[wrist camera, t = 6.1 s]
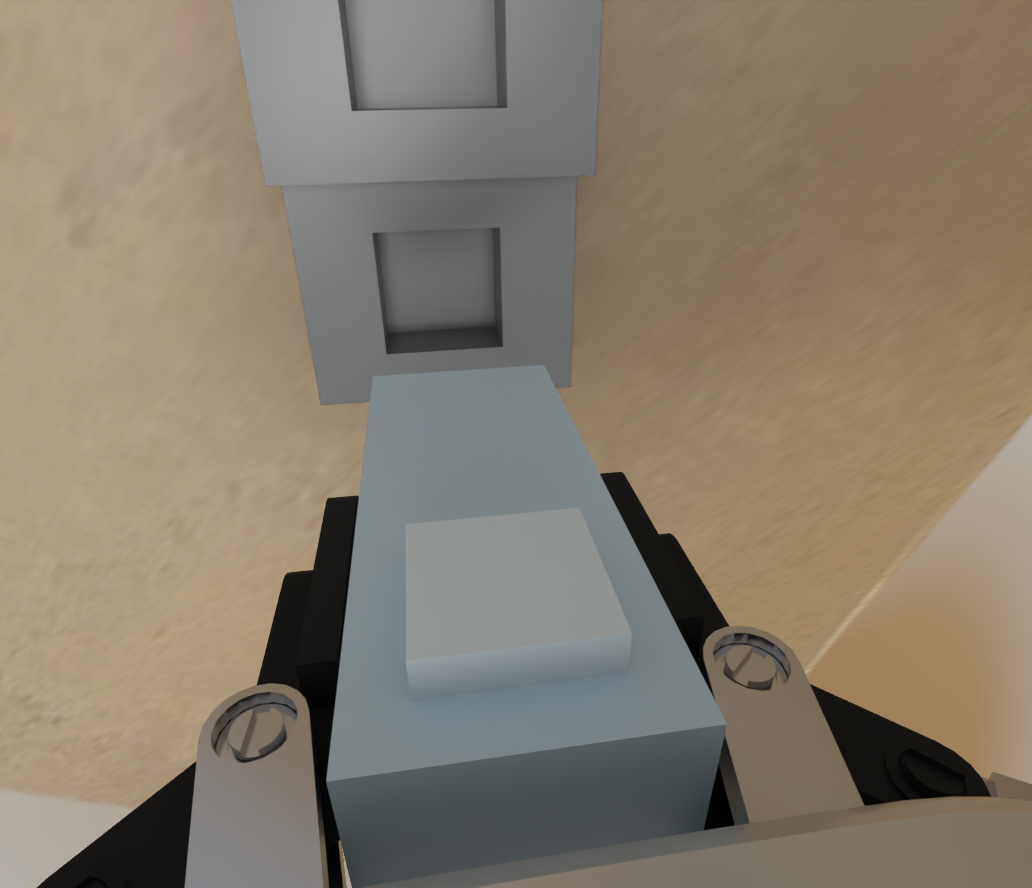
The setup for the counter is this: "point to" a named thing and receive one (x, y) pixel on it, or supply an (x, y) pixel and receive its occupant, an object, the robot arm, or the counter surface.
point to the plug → (503, 645)
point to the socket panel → (427, 175)
